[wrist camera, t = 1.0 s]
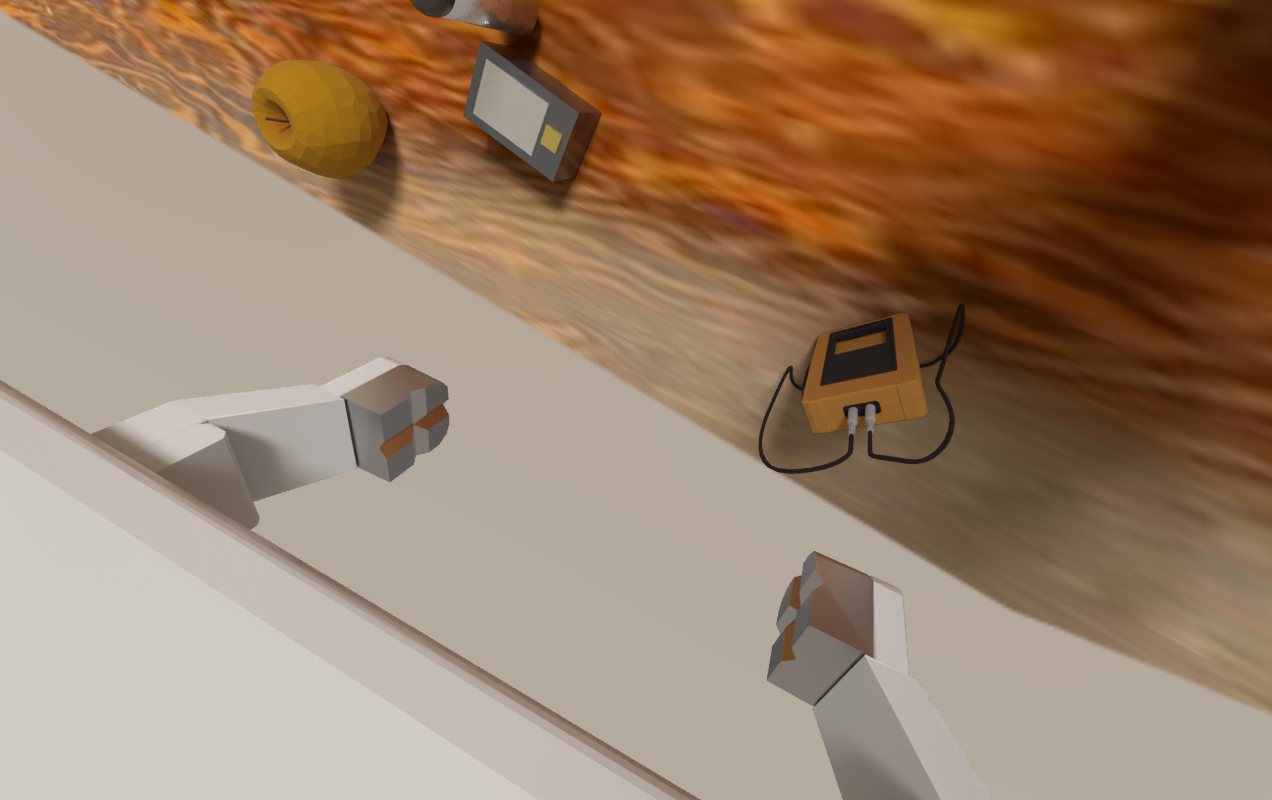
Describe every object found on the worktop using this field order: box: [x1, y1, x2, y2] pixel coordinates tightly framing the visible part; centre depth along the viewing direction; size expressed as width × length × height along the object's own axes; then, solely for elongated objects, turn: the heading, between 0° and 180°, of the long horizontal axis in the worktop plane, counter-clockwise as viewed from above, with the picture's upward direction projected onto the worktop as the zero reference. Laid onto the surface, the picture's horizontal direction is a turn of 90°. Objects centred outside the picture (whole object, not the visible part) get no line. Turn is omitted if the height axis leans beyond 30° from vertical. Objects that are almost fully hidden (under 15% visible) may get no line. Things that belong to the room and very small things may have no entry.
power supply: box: [464, 41, 601, 182], centre depth 42 cm, size 6×10×4 cm, turn 60°
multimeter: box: [759, 304, 965, 474], centre depth 35 cm, size 15×10×20 cm
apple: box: [252, 60, 388, 179], centre depth 46 cm, size 10×10×12 cm
